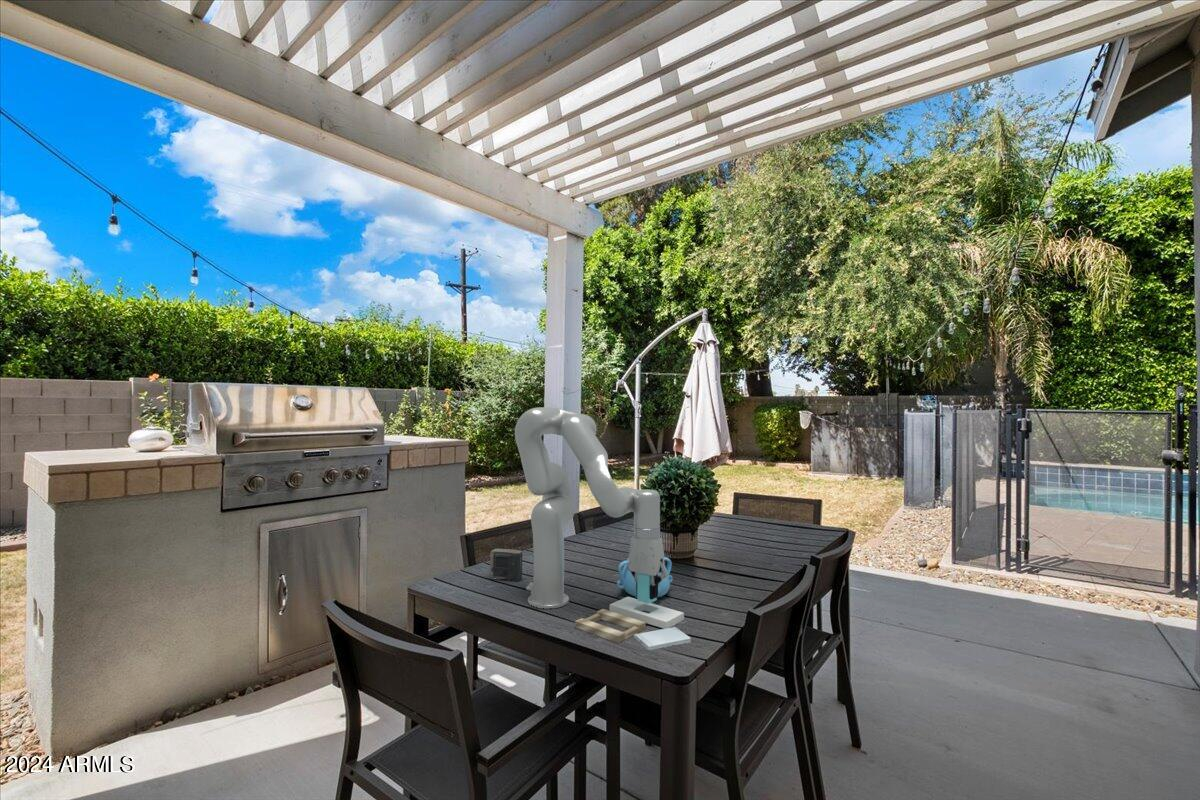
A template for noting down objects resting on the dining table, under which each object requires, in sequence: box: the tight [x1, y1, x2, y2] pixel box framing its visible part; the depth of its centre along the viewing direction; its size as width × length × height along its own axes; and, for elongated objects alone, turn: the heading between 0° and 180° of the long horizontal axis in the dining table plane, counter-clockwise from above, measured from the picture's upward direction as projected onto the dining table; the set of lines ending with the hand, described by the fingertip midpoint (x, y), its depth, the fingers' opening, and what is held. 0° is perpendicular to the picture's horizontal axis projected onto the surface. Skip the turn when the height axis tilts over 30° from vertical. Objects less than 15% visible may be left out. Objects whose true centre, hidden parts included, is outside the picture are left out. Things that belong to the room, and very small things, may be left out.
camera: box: [488, 548, 523, 582], centre depth 192 cm, size 11×6×10 cm, turn 74°
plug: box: [637, 573, 658, 604], centre depth 160 cm, size 4×4×8 cm
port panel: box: [608, 596, 685, 629], centre depth 160 cm, size 20×9×2 cm, turn 50°
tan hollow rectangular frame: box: [574, 608, 647, 644], centre depth 150 cm, size 15×12×2 cm
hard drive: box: [633, 626, 692, 651], centre depth 143 cm, size 2×8×12 cm
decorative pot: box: [616, 556, 674, 599], centre depth 178 cm, size 16×16×14 cm
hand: (647, 595), depth 160 cm, fingers closed on plug, 3 cm apart
